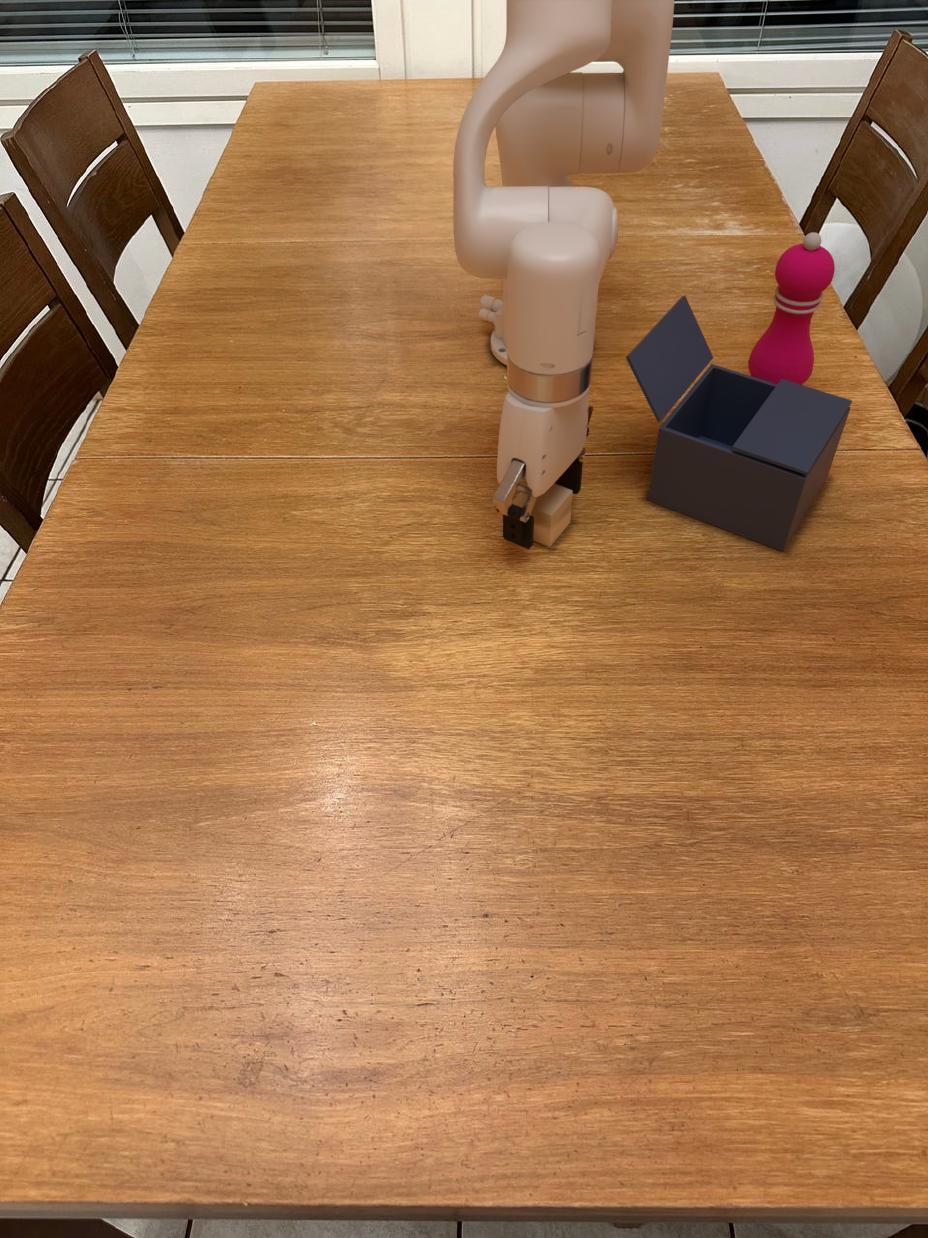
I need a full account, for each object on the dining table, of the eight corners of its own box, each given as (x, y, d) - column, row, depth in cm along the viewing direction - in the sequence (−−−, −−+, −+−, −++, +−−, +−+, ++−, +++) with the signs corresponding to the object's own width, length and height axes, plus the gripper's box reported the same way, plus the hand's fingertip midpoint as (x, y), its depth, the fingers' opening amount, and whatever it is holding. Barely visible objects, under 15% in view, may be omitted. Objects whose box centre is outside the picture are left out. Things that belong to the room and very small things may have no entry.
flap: (660, 421, 93) (657, 422, 93) (713, 357, 100) (710, 358, 100) (628, 356, 90) (625, 357, 90) (685, 294, 97) (681, 296, 97)
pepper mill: (804, 416, 110) (853, 252, 95) (740, 410, 111) (778, 247, 96) (802, 381, 114) (848, 219, 99) (741, 375, 115) (777, 214, 100)
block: (512, 532, 98) (513, 500, 95) (534, 507, 101) (535, 475, 97) (549, 547, 97) (551, 515, 93) (570, 522, 99) (572, 490, 96)
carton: (647, 500, 101) (659, 421, 93) (697, 435, 108) (712, 356, 100) (782, 551, 95) (807, 472, 87) (826, 479, 102) (853, 400, 94)
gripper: (559, 314, 90) (552, 457, 103) (460, 406, 81) (465, 551, 93) (630, 336, 87) (614, 480, 100) (536, 433, 78) (531, 579, 90)
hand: (542, 514), depth 97 cm, fingers open, 9 cm apart
